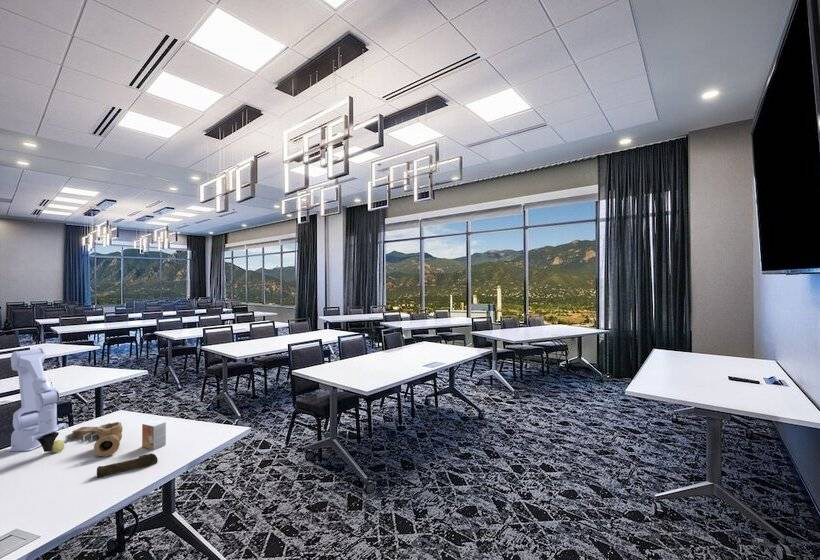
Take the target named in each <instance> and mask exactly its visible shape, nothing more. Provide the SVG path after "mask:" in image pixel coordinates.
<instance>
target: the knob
mask: <svg viewBox="0 0 820 560" xmlns="http://www.w3.org/2000/svg"><path fill="white" fill-rule="evenodd" d="M64 449H65V442H64V440H61V439H55V441H54V444H53V446H52V450H51V451H49V453H53V452H55V453H61V452H62V451H63V450H64Z"/></svg>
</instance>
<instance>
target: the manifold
mask: <svg viewBox="0 0 820 560" xmlns="http://www.w3.org/2000/svg"><path fill="white" fill-rule="evenodd" d="M98 427H99V426H81V427H79V428H77V429H74V430H72V432H70V433H69V434H66V435H65V438H64V439H65V442H64V443H68V442H71V441H73V440H75V439H76V440H77V439H80V440H81V439H82V443H86V442H88V441H90V443H93V442H94V443H95V441H97V440H99V439H100V437H99V436H98V434H97V432H96V431H97V428H98Z"/></svg>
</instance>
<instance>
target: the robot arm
mask: <svg viewBox="0 0 820 560" xmlns="http://www.w3.org/2000/svg"><path fill="white" fill-rule="evenodd" d="M45 359H46V351H45V350H44V348H42V347H39V348H34V349H27V350H19V351H17V350H16V351H13V352H12V353H11V356H10V365H11V366H10V367H11V370H12V371H15V372H17V374H18V385H19V394H20V404H21V407H20V408H18V409H17V410H16V411H15V412H14V413H13V415H12V418H13V419H12V428H13V429H14V430H13V431H12V433H11V436H10V444H11V445H10V449H9V450H8V451H9V452H29V451H33V450H34V449H37V448H38V447H42V449H43V452H44V453H48V452H49V451H51V450H52V446H53V444H54V442H55V441H56V440H57V439H56V438H57V437H58V436H59V433H60V432H58V431H60V430H61V429H66V427H67V424H66V422H62V423H59V424H58V420H57V419H58V417H57V416H58V415H57V414H58V407H57V406H58V405H57V403H59V402H60V393H59V392H60V391H58V389H56V388H55V387H54V386H53V384H52V382H51V379H50V377H48V376H45V372H44V366H43V364H44V362H45ZM49 453H50V452H49Z"/></svg>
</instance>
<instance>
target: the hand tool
mask: <svg viewBox="0 0 820 560" xmlns="http://www.w3.org/2000/svg"><path fill="white" fill-rule="evenodd" d="M158 460H159V459H158V457H157V455H156V454H155V453H146V454H142V455H139V457H137V458H134V459H130V460H125V461H121V462H116V463H111V464H106V465H99V466H97V467H96V476H97V477H96V478H100V477H104V476H107V475H111V474H115V473H118V472H123V471H124V472H125V471H128V470H131V469H136V468H139V469H143V468H146V467H150V466H152V465H155V464H157V463H158Z"/></svg>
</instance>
